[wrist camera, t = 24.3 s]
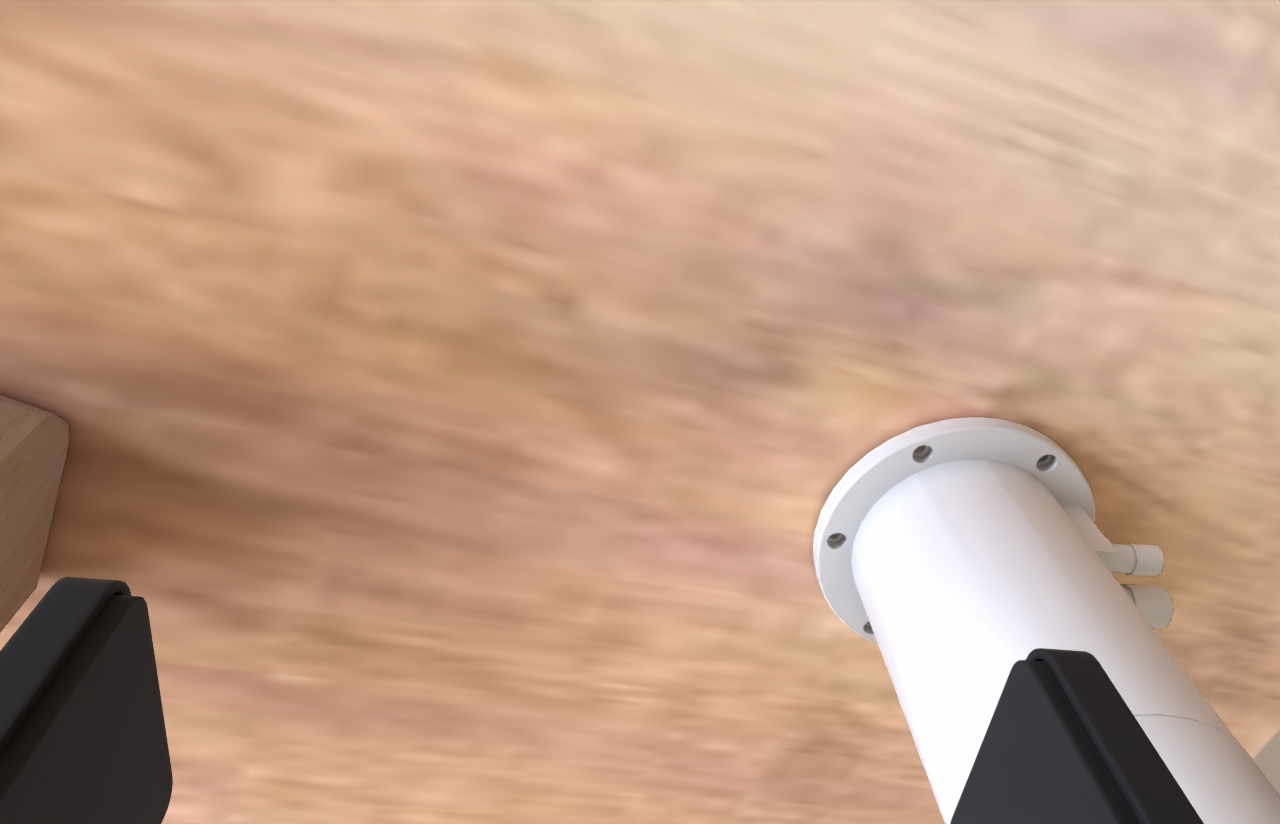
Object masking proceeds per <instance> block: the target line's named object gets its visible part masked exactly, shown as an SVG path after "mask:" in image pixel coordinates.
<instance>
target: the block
mask: <svg viewBox="0 0 1280 824" xmlns="http://www.w3.org/2000/svg"><path fill="white" fill-rule="evenodd" d="M69 435H70V433H69V428H68V424H67V422H66V421H64V420H63V419H62V418H60V417H59V416H57V415H56V414H54V413H52V412H49V411H46V410H43V409H40V408H37V407H34V406H31V405H28V404H25V403H22V402H19V401H16V400H13V399H10V398H8V397H5V396H2V395H0V632H1V631H2V630H3V629H4V627H5V626H6V625H7V624H8V622H9V621H10V620H11V619H12V617H13V616H14V615H15V614H16V612H17V611H18V610H19V609H20V607H21V606H22V605H23V604H24V602H25V601H26V600H27V599H28V597H29V596H30V595H31V594H32V592H33V591H34V590H35V589H36V587H37V583H38V579H39V574H40V570H41V565H42V561H43V556H44V552H45V548H46V543H47V539H48V534H49V530H50V525H51V521H52V517H53V512H54V508H55V503H56V499H57V494H58V490H59V486H60V481H61V477H62V472H63V468H64V463H65V459H66V455H67V450H68V446H69Z"/></svg>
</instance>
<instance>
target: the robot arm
mask: <svg viewBox="0 0 1280 824" xmlns="http://www.w3.org/2000/svg"><path fill="white" fill-rule="evenodd" d="M813 559H814V564H815V570H816V575H817V578H818V581H819V584H820V587H821V589H822V592H823V596H824V597H825V599H826V601H827V602H828V604H829V606H830V607H831V609H832V611H833V612H834V613H835V614H836V615H837V616H838V618H839V619H840V620H841V621H842V622H843V623H844V624H845V625H846V626H847V627H848V628H850V629H851V630H853V631H854V632H856V633H857V634H858V635H860V636H861V637H863V638H865V639H867V640H869V641H872V642H874V643H877V644H878V646H879V648H880V651H881V654H882V656H883V659H884V662H885V664H886V667H887V670H888V672H889V675H890V678H891V680H892V683H893V686H894V689H895V691H896V694H897V697H898V699H899V702H900V705H901V707H902V710H903V713H904V715H905V718H906V721H907V723H908V726H909V729H910V731H911V734H912V737H913V739H914V742H915V745H916V747H917V750H918V753H919V755H920V758H921V761H922V763H923V766H924V769H925V771H926V774H927V777H928V779H929V782H930V785H931V787H932V790H933V793H934V795H935V798H936V801H937V803H938V806H939V809H940V811H941V814H942V817H943V820H944V822H945V824H1280V795H1279V794H1278V792H1277V791H1276V790H1275V788H1274V787H1273V786H1272V785H1271V783H1270V782H1269V781H1268V780H1267V778H1266V777H1265V775H1264V774H1263V773H1262V772H1261V770H1260V769H1259V768H1258V766H1257V765H1256V763H1255V762H1254V761H1253V760H1252V758H1251V757H1250V756H1249V754H1248V753H1247V752H1246V750H1245V749H1244V748H1243V747H1242V746H1241V745H1240V743H1239V742H1238V741H1237V740H1236V738H1235V737H1234V736H1233V734H1232V733H1231V732H1230V730H1229V729H1228V728H1227V726H1226V725H1225V724H1224V722H1223V721H1222V720H1221V718H1220V717H1219V716H1218V714H1217V713H1216V712H1215V710H1214V709H1213V708H1212V706H1211V705H1210V704H1209V702H1208V701H1207V700H1206V698H1205V697H1204V696H1203V694H1202V693H1201V692H1200V690H1199V689H1198V688H1197V686H1196V685H1195V684H1194V682H1193V681H1192V680H1191V678H1190V677H1189V676H1188V674H1187V673H1186V672H1185V671H1184V669H1183V668H1182V667H1181V665H1180V664H1179V663H1178V661H1177V660H1176V659H1175V657H1174V656H1173V655H1172V653H1171V652H1170V651H1169V649H1168V648H1167V647H1166V645H1165V644H1164V643H1163V641H1162V640H1161V639H1160V637H1159V636H1158V635H1157V633H1156V632H1155V631H1154V629H1163V628H1165V627H1167V626H1168V625H1169V623H1170V621H1171V620H1172V614H1173V604H1172V599H1171V597H1170V595H1169V593H1168V591H1167V590H1166V589H1164V588H1163V587H1162V586H1150V585H1134V584H1119V583H1118V582H1117V580H1116V579H1115V578H1114V576H1113V575H1112V574H1111V573H1125V574H1126V575H1134V576H1150V577H1155V576H1159V575H1160V573H1161V572H1162V571H1163V566H1164V556H1163V553H1162V551H1161V549H1160V548H1159V547H1157V546H1156V545H1144V544H1129V543H1128V544H1125V545H1121V544H1112V543H1111V541H1110V540H1109V539H1108V538H1105V536H1104V535H1103V534H1102V532H1101V531H1100V530H1099V529H1098V527H1097V526H1096V525H1095V505H1094V501H1093V497H1092V493H1091V489H1090V486H1089V485H1088V483H1087V481H1086V479H1085V477H1084V475H1083V474H1082V472H1081V470H1080V468H1079V467H1078V466H1077V465H1076V464H1075V462H1074V461H1073V460H1072V459H1071V458H1070V456H1069V455H1068V454H1067V453H1066V452H1065V451H1064V450H1063V449H1062V448H1061V447H1060V446H1058V445H1057V444H1056V443H1055V442H1053V441H1052V440H1051V439H1050V438H1049V437H1047V436H1046V435H1044V434H1042V433H1040V432H1038V431H1036V430H1034V429H1032V428H1030V427H1028V426H1026V425H1022V424H1018V423H1014V422H1011V421H1007V420H1003V419H996V418H983V417H967V418H956V419H946V420H942V421H938V422H934V423H930V424H926V425H922V426H918V427H916V428H914V429H911V430H909V431H907V432H904V433H902V434H900V435H898V436H895V437H893V438H891V439H889V440H888V441H886V442H885V443H883V444H882V445H880V446H878V447H877V448H875V449H874V450H872V451H870V452H869V453H868V454H866V455H865V456H864V457H863V458H862V459H861V460H860V461H858V462H857V463H856V464H855V465H854V466H853V467H852V468H851V469H849V470H848V471H847V473H846V474H845V475H844V476H843V478H842V479H841V480H840V481H839V483H838V484H837V485H836V486H835V488H834V489H833V490H832V492H831V493H830V495H829V497H828V499H827V501H826V503H825V505H824V507H823V508H822V510H821V512H820V516H819V519H818V522H817V526H816V529H815V533H814V545H813ZM172 783H173V781H172V771H171V764H170V757H169V750H168V743H167V737H166V730H165V723H164V716H163V710H162V703H161V696H160V689H159V682H158V676H157V669H156V662H155V655H154V649H153V642H152V635H151V628H150V621H149V615H148V608H147V604H146V601H145V600H144V598H143V597H138V596H131V592H130V589H129V587H128V585H127V584H126V583H125V582H122V581H115V580H102V579H88V578H74V577H64V578H62V579H59V580H58V581H57V582H56V583H55V584H54V585H53V586H52V587H51V588H50V590H49V591H48V592H47V593H46V595H45V596H44V597H43V598H42V600H41V601H40V602H39V603H38V605H37V606H36V607H35V608H34V610H33V611H32V612H31V613H30V615H29V616H28V617H27V618H26V620H25V621H24V622H23V623H22V625H21V626H20V627H19V628H18V630H17V631H16V632H15V633H14V635H13V636H12V637H11V638H10V640H9V641H8V642H7V643H6V645H5V646H4V647H3V648H2V650H1V651H0V824H161V823H162V820H163V818H164V816H165V814H166V811H167V809H168V805H169V802H170V798H171V792H172Z"/></svg>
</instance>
